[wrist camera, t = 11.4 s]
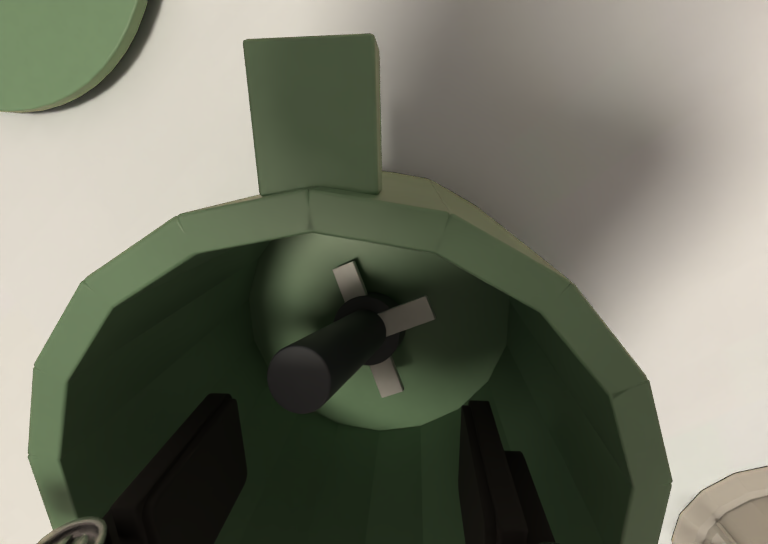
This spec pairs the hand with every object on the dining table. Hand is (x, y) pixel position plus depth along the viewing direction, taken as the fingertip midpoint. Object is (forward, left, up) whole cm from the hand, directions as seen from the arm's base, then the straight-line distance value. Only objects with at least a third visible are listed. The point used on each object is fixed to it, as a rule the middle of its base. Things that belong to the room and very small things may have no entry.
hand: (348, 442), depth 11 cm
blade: (0, 0, -8) cm, 8 cm away
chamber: (0, 0, -9) cm, 9 cm away
